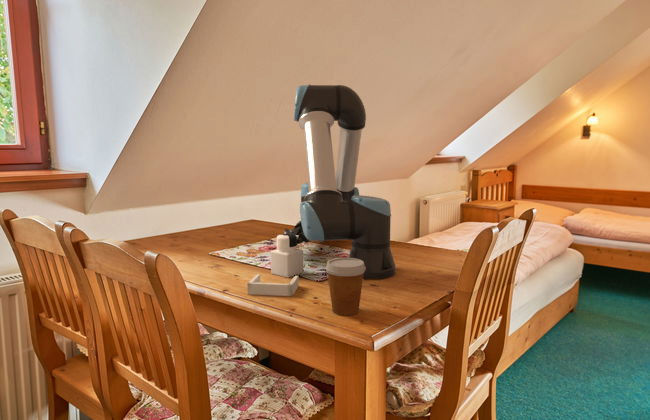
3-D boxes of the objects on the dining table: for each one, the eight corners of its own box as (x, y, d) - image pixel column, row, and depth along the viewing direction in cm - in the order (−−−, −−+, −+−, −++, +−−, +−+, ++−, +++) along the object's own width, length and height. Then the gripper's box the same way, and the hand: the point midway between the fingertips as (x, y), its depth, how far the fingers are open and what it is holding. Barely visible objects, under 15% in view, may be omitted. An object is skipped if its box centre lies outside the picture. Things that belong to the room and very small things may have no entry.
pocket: (298, 286, 135) (298, 275, 135) (292, 296, 127) (291, 285, 126) (257, 284, 137) (256, 274, 137) (247, 294, 129) (247, 283, 128)
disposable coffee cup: (348, 321, 110) (348, 270, 108) (317, 311, 116) (317, 262, 114) (373, 310, 117) (373, 261, 115) (342, 301, 123) (342, 255, 121)
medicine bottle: (287, 268, 153) (286, 231, 151) (303, 272, 148) (303, 234, 146) (270, 273, 147) (269, 235, 145) (287, 278, 143) (287, 238, 141)
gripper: (323, 239, 177) (312, 256, 154) (288, 238, 179) (272, 254, 156) (323, 219, 176) (312, 232, 153) (288, 218, 178) (271, 231, 155)
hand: (292, 243), depth 154 cm, fingers closed
